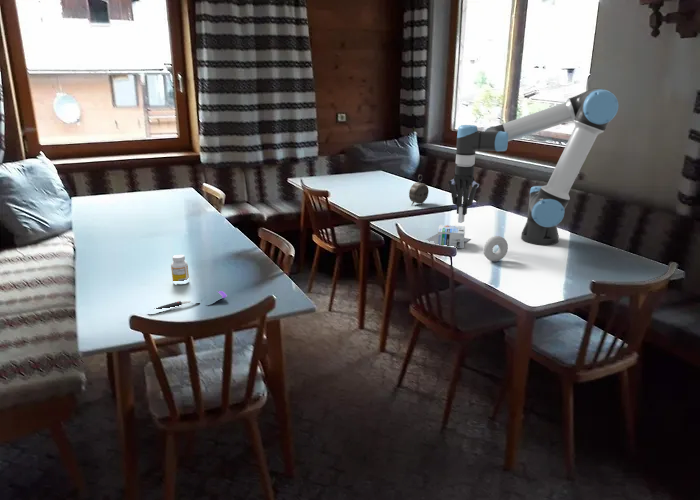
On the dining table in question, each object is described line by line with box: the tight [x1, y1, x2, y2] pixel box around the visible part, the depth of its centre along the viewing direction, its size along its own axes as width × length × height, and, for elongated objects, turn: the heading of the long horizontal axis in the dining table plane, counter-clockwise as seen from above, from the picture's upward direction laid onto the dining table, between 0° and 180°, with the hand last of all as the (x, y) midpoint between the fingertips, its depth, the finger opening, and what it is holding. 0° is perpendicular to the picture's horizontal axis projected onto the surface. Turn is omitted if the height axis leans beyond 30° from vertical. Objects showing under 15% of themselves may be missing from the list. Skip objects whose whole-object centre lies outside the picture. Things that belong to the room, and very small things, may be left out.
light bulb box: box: [437, 224, 466, 249], centre depth 231 cm, size 11×7×11 cm
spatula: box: [155, 290, 228, 309], centre depth 173 cm, size 24×7×2 cm, turn 120°
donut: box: [483, 235, 509, 262], centre depth 211 cm, size 10×4×10 cm, turn 109°
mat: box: [425, 233, 471, 244], centre depth 236 cm, size 15×16×1 cm
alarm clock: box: [408, 174, 429, 206], centre depth 294 cm, size 11×5×16 cm, turn 130°
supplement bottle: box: [170, 254, 190, 282], centre depth 190 cm, size 5×5×10 cm
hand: (461, 221), depth 230 cm, fingers closed
